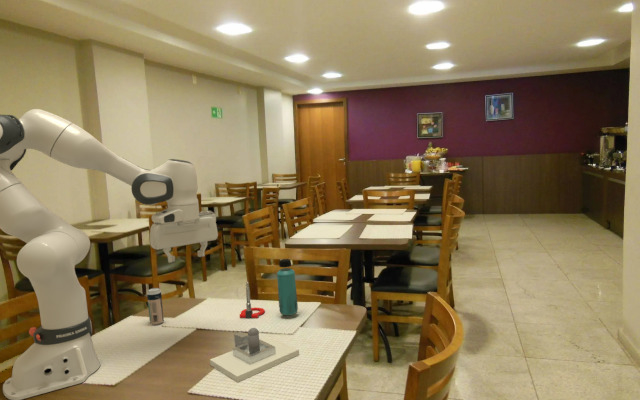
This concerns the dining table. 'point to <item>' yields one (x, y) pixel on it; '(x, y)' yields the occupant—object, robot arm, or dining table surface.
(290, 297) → the beverage bottle
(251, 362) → the steel link
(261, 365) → the board
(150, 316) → the beer can
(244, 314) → the tow hook
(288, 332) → the dining table surface
